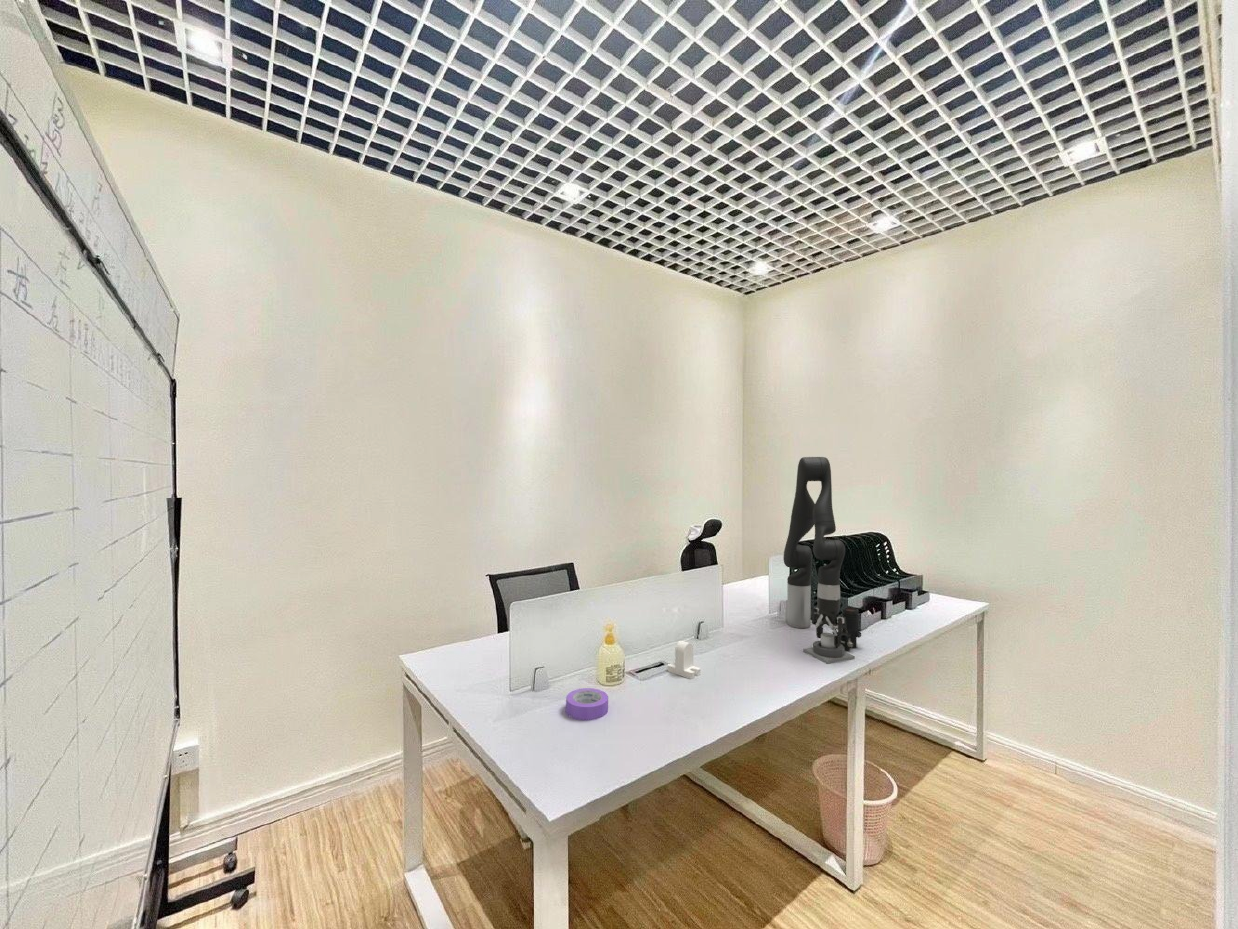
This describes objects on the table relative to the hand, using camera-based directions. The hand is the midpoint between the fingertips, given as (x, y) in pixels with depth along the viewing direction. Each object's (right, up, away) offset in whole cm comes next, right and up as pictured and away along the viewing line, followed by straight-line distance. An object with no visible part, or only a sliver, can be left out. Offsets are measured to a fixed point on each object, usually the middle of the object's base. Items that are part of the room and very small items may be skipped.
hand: (828, 641), depth 185 cm
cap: (0, -4, 0) cm, 4 cm away
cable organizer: (-53, -5, -15) cm, 55 cm away
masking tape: (-83, -6, -40) cm, 92 cm away
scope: (+11, -5, +8) cm, 15 cm away
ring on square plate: (0, -5, 0) cm, 5 cm away
